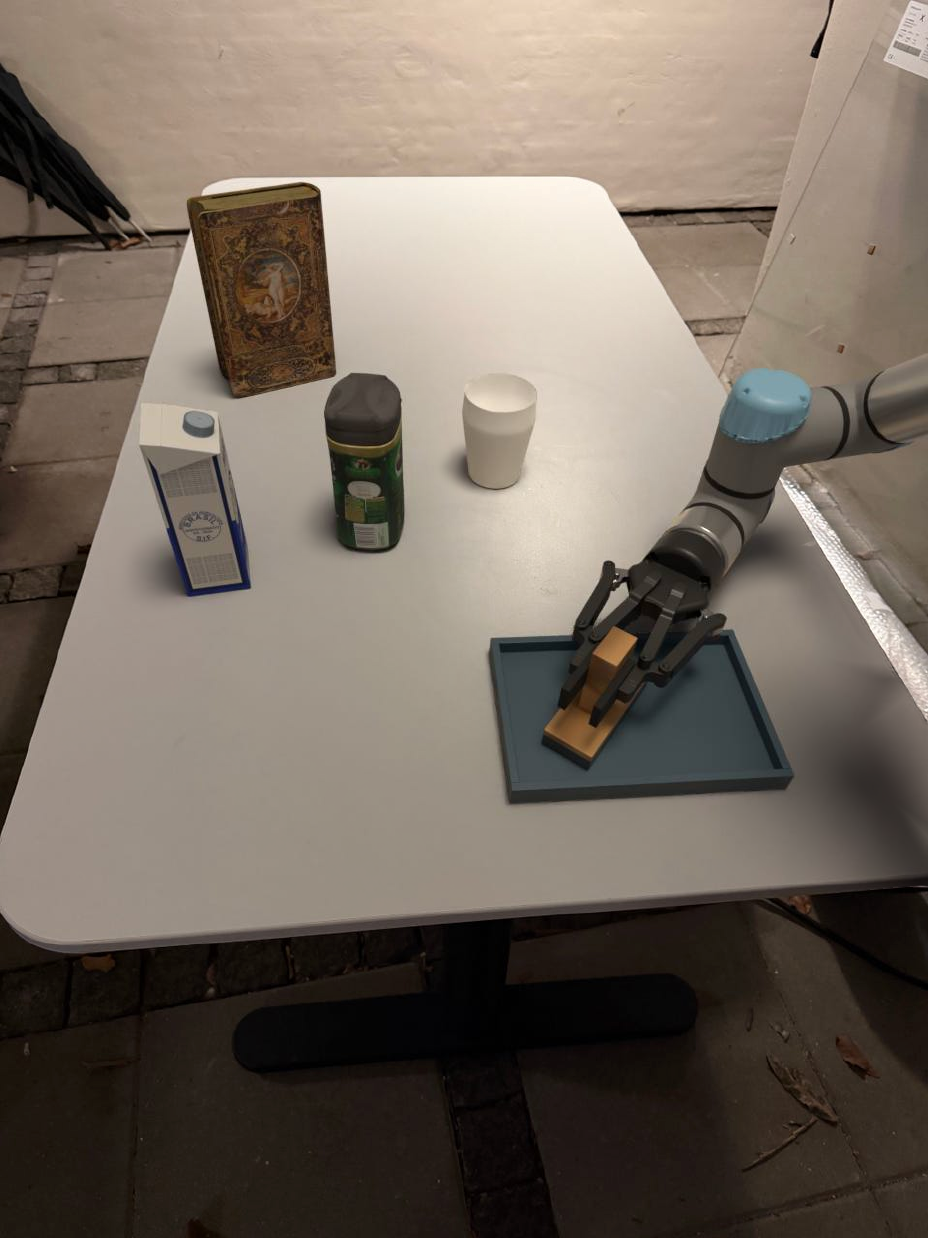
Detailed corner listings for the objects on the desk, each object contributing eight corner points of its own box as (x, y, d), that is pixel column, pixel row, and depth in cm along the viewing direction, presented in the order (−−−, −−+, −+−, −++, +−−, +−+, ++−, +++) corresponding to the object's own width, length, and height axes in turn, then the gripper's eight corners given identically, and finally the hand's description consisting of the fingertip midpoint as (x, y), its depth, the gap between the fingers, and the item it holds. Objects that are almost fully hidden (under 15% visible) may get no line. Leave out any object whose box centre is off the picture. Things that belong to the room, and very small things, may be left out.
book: (327, 357, 119) (310, 180, 101) (341, 374, 116) (326, 194, 97) (222, 381, 113) (183, 197, 95) (233, 399, 110) (196, 213, 92)
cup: (538, 465, 103) (549, 383, 94) (512, 503, 97) (521, 421, 88) (476, 446, 105) (481, 365, 96) (447, 482, 99) (450, 400, 91)
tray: (786, 789, 71) (795, 775, 69) (509, 804, 69) (511, 790, 67) (726, 643, 83) (733, 629, 81) (489, 652, 81) (490, 637, 79)
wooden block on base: (645, 687, 77) (670, 617, 70) (587, 771, 70) (608, 704, 63) (601, 663, 79) (621, 593, 71) (540, 743, 72) (555, 675, 65)
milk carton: (187, 554, 88) (140, 399, 74) (247, 546, 90) (213, 393, 75) (187, 597, 84) (138, 443, 69) (251, 589, 85) (215, 435, 70)
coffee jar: (345, 499, 96) (332, 362, 83) (408, 503, 96) (406, 367, 82) (330, 551, 90) (314, 412, 76) (398, 556, 90) (394, 418, 76)
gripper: (750, 617, 80) (650, 778, 66) (616, 554, 85) (500, 691, 72) (775, 564, 74) (671, 728, 61) (630, 500, 80) (506, 638, 66)
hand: (579, 707), depth 66 cm, fingers closed on wooden block on base, 2 cm apart
